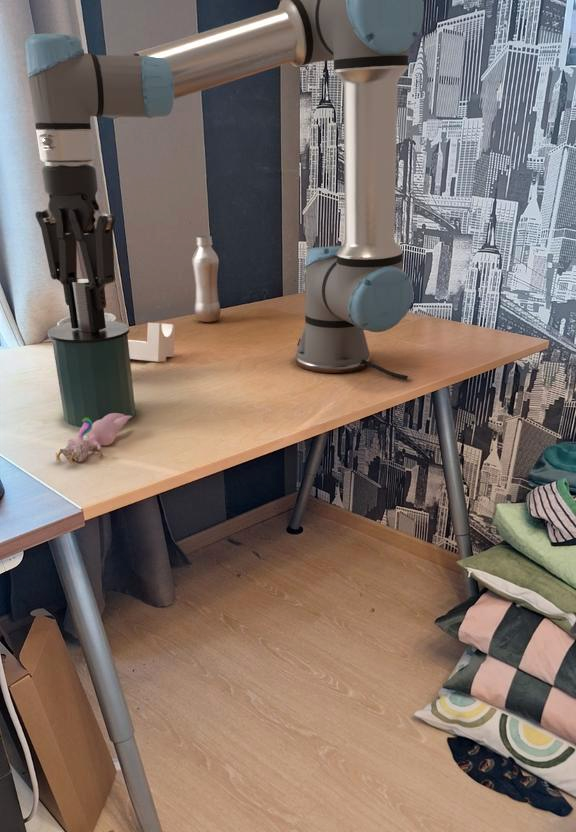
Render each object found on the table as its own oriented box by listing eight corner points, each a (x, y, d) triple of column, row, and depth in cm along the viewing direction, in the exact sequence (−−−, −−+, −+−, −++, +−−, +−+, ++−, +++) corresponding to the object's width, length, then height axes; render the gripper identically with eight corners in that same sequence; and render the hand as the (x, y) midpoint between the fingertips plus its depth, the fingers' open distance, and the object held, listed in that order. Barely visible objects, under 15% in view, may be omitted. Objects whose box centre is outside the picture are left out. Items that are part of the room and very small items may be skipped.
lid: (146, 332, 117) (140, 277, 113) (94, 351, 107) (87, 292, 103) (85, 323, 122) (78, 270, 118) (31, 341, 112) (21, 284, 108)
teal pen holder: (149, 412, 124) (141, 328, 117) (105, 436, 114) (93, 346, 108) (96, 402, 128) (86, 320, 121) (50, 424, 119) (35, 336, 112)
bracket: (173, 361, 153) (174, 324, 152) (157, 361, 147) (159, 323, 145) (119, 355, 157) (120, 319, 155) (101, 355, 150) (102, 318, 149)
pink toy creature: (83, 477, 104) (145, 428, 114) (73, 442, 101) (138, 394, 111) (51, 469, 107) (114, 421, 117) (40, 434, 103) (106, 388, 113)
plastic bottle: (207, 316, 184) (203, 233, 175) (226, 321, 181) (223, 236, 171) (189, 321, 180) (183, 236, 170) (208, 325, 176) (204, 239, 167)
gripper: (6, 163, 103) (33, 327, 114) (95, 166, 97) (114, 340, 108) (43, 161, 109) (65, 317, 120) (130, 164, 103) (144, 328, 114)
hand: (88, 327), depth 114 cm, fingers closed on lid, 3 cm apart
